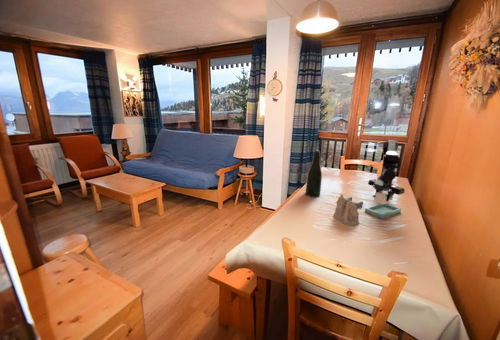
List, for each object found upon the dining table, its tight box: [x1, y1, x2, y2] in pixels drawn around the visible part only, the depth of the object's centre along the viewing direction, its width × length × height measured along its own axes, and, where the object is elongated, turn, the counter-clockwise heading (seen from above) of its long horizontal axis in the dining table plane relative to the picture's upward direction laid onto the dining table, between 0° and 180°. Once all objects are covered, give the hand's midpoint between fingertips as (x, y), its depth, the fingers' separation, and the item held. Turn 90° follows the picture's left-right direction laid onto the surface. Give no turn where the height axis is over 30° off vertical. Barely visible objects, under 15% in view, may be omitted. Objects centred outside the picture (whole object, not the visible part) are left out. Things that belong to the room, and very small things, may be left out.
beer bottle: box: [305, 149, 323, 198], centre depth 158 cm, size 10×10×33 cm
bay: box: [344, 196, 364, 208], centre depth 147 cm, size 7×9×3 cm
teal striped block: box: [374, 189, 394, 205], centre depth 135 cm, size 12×5×6 cm, turn 119°
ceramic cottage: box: [333, 193, 360, 227], centre depth 128 cm, size 16×16×15 cm
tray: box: [364, 203, 402, 220], centre depth 137 cm, size 19×11×2 cm, turn 119°
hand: (382, 199), depth 134 cm, fingers closed on teal striped block, 5 cm apart
